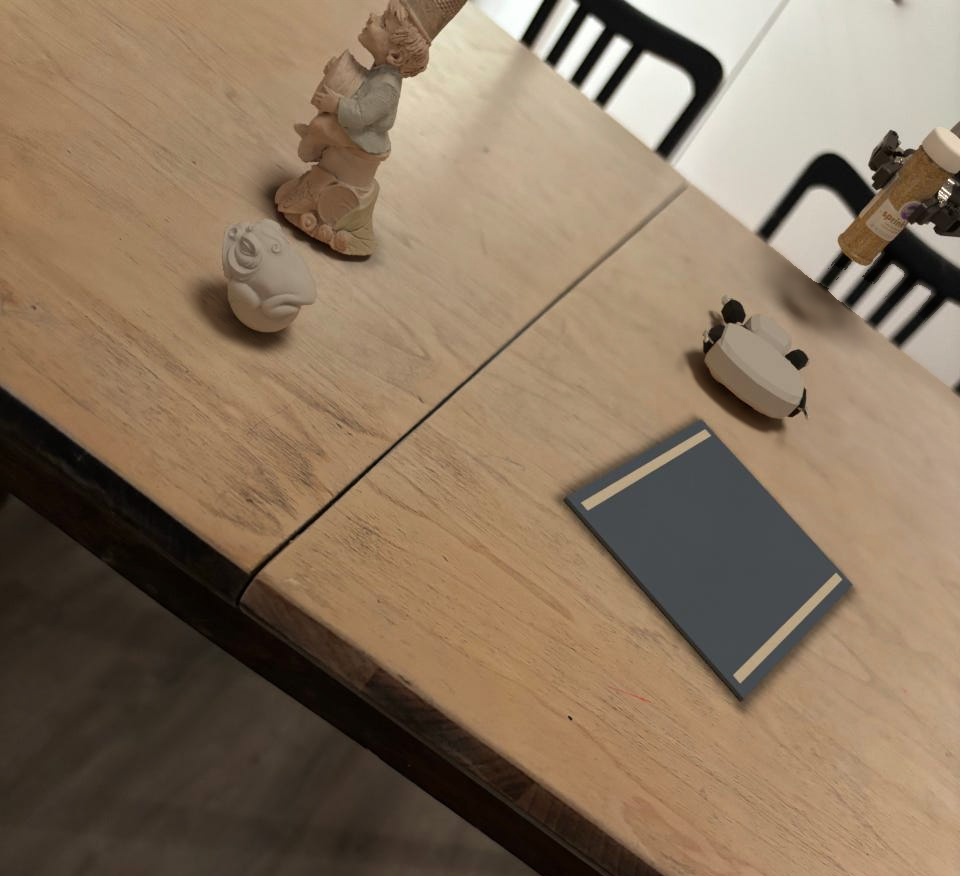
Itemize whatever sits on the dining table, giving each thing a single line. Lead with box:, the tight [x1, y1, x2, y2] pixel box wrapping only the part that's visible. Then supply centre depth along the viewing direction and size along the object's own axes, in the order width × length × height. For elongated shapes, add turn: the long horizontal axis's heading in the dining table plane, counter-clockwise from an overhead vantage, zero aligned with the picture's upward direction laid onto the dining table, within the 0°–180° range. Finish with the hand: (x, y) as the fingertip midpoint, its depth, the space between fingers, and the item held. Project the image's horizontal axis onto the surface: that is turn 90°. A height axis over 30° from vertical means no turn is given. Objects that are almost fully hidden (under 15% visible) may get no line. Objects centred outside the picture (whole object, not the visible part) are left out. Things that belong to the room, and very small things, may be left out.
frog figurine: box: [221, 218, 318, 333], centre depth 66 cm, size 6×7×7 cm
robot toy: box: [701, 294, 811, 421], centre depth 96 cm, size 12×4×15 cm
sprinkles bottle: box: [837, 125, 960, 267], centre depth 99 cm, size 5×5×14 cm
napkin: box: [563, 418, 853, 702], centre depth 80 cm, size 22×20×1 cm
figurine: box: [274, 0, 469, 256], centre depth 71 cm, size 9×8×20 cm
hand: (898, 196), depth 96 cm, fingers closed on sprinkles bottle, 4 cm apart
